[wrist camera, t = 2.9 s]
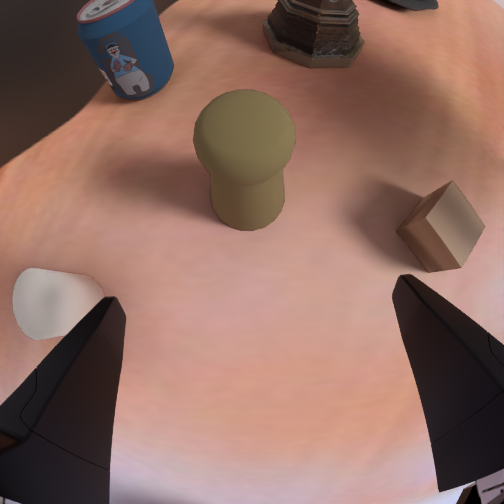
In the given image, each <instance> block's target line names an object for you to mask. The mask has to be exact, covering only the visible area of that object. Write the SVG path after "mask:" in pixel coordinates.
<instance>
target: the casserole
mask: <svg viewBox="0 0 504 504" xmlns="http://www.w3.org/2000/svg"><path fill="white" fill-rule="evenodd" d="M388 1H390V2H392V3H394V4H397V5H399V6H402V7H404V8H407V9H410V10H415V11H418V10H422V9H437V8H438V2H437V0H388Z"/></svg>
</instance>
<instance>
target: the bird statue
mask: <svg viewBox="0 0 504 504" xmlns="http://www.w3.org/2000/svg"><path fill="white" fill-rule="evenodd" d="M278 1H279V2H277V4H276V5H275V6H276V7H275V8H274V9H273V10H272V13H271V14H270V15H269V16H268V19H267V20H265V21H264V22H263V32H264V34H265V36H266V38H267V40H268V43H269V45H270V47H271V49H272V51H273V53H275V54H278V55H280V56H283V57H285V58H288V59H290V60H292V61H295V62H297V63H299V64H301V65H304V66H306V67H308V68H332V67H349V66H350V65H351V63H352V62H353V60H354V59H355V58H356V56H357V55H358V53H359V52H360V51H361V49H362V47H363V44H364V42H365V41H364V40H363V39H362V37H361V36H360V32H359V27H358V25H357V24H358V18H357V17H358V16H359V13H358V11H357V10H356V9H355V8H356V7H357V6H356V5H355V4H354V2H353V1H352V0H278Z"/></svg>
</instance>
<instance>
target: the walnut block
mask: <svg viewBox="0 0 504 504" xmlns="http://www.w3.org/2000/svg"><path fill="white" fill-rule="evenodd" d="M484 228H485V225H484V224H483V222H482V221H481V219H480V217H479V216H478V214H477V213H476V211H475V210H474V209H473V207H472V206H471V204H470V203H469V201H468V200H467V199H466V197H465V196H464V194H463V193H462V192H461V190H460V189H459V188H458V186H457V185H456V184H455V182H454V181H453V180H452V181H450V182H449V183H447V184H446V185H444V186H442V187H441V188H439V189H437V190H436V191H434V192H432V193H431V194H429V195H427V196H426V197H424V198H423V199H422V200H421V202H420V203H419V204H418V205H417V207H416V208H415V209H414V210H413V211H412V213H411V214H410V215H409V216H408V218H407V219H406V220H405V221H404V222H403V223H402V225H401V226H400V227H399V228H398V229H397V231H396V232H397V233H398V235H399V236H400V237H401V238H402V240H403V241H404V242H405V243H406V244H407V246H408V247H409V248H410V250H411V251H412V252H413V253H414V255H415V256H416V257H417V259H418V260H419V261H420V262H421V264H422V265H423V266H424V268H425V269H426V270H427V272H428V273H431V272H438V271H445V270H451V269H458V268H462V266H463V265H464V263H465V261H466V260H467V258H468V257H469V255H470V253H471V251H472V250H473V248H474V246H475V245H476V243H477V241H478V239H479V237H480V236H481V234H482V232H483V230H484Z"/></svg>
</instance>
